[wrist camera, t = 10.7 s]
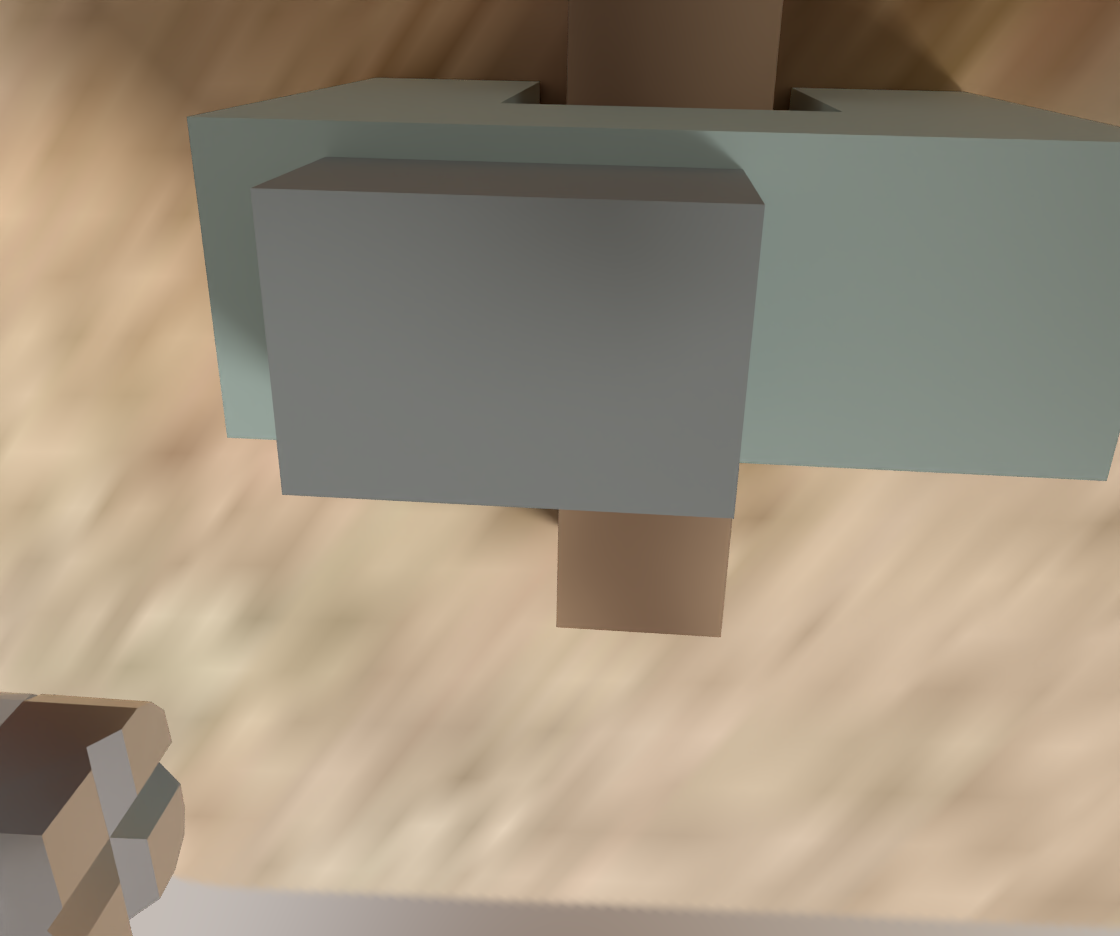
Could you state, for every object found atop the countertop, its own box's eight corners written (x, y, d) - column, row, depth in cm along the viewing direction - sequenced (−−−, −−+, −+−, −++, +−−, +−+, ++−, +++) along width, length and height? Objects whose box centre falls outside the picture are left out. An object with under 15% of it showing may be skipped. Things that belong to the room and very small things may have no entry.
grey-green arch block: (964, 91, 24) (1333, 175, 11) (928, 300, 26) (1203, 579, 13) (376, 77, 25) (78, 139, 12) (387, 280, 27) (143, 519, 14)
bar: (785, -315, 21) (823, -409, 16) (710, 539, 29) (720, 636, 24) (592, -314, 21) (575, -407, 16) (571, 532, 29) (556, 626, 25)
